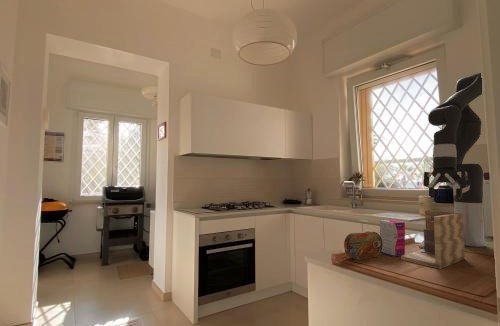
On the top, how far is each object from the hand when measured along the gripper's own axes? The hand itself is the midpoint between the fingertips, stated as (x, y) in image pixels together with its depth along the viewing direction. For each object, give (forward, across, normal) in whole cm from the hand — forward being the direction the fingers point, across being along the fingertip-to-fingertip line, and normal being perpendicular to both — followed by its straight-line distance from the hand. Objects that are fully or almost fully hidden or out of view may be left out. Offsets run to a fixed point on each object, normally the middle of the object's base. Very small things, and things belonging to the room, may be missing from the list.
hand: (444, 198), depth 104 cm
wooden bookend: (+20, -4, +20) cm, 28 cm away
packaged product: (+20, +4, -3) cm, 20 cm away
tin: (+22, +10, +38) cm, 44 cm away
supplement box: (+21, +7, +25) cm, 33 cm away
